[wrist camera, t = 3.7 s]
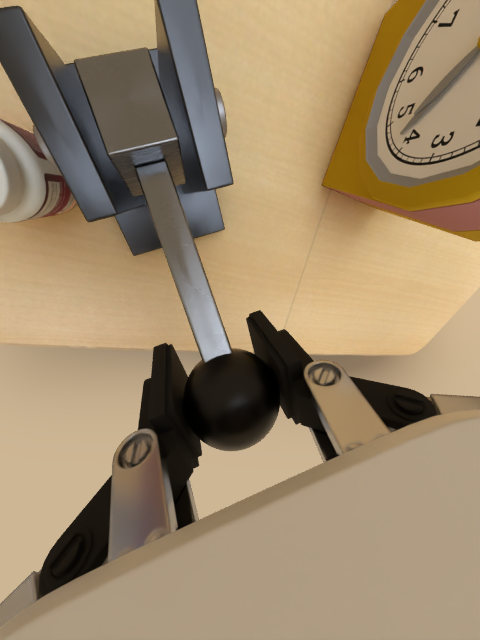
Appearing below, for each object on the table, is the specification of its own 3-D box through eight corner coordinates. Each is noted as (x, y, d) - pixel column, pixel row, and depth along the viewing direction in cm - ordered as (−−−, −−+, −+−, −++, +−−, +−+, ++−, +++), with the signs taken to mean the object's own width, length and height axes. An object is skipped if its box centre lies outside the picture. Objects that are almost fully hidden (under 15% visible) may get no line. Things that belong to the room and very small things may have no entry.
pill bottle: (-24, 139, 14) (-216, 81, 7) (59, 129, 15) (-39, 69, 8) (25, 220, 16) (-81, 239, 9) (94, 208, 17) (44, 217, 10)
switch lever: (275, 403, 11) (310, 448, 7) (203, 433, 10) (200, 496, 7) (181, 124, 10) (166, 14, 6) (97, 143, 9) (29, 36, 6)
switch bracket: (222, 227, 20) (284, 262, 10) (135, 253, 19) (96, 323, 9) (179, 53, 15) (213, -336, 4) (52, 76, 14) (-370, -366, 3)
